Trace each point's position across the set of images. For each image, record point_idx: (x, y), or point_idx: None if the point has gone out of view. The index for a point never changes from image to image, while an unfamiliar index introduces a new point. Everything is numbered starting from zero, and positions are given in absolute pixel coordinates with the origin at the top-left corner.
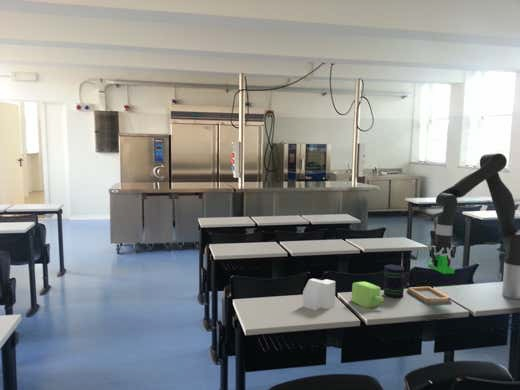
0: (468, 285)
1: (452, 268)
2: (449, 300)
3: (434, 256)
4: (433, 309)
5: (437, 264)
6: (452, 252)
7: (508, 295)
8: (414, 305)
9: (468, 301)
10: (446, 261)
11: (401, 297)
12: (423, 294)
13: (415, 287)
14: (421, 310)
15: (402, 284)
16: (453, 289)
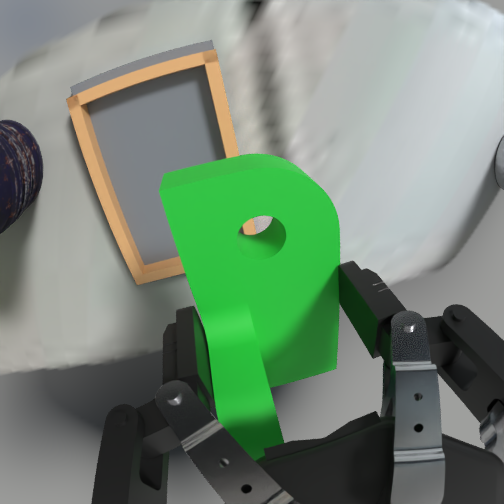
0: (457, 8)
1: (333, 355)
2: None
3: (172, 446)
4: (152, 318)
5: (211, 356)
6: (469, 392)
7: (501, 179)
8: (83, 287)
9: (352, 214)
10: None
11: (33, 200)
12: (143, 159)
13: (111, 85)
14: (106, 329)
15: (3, 221)
16: (375, 37)
